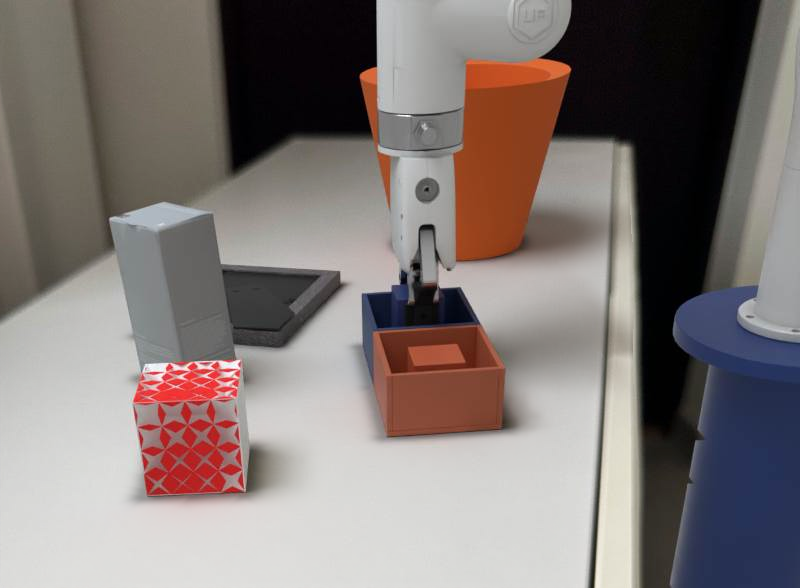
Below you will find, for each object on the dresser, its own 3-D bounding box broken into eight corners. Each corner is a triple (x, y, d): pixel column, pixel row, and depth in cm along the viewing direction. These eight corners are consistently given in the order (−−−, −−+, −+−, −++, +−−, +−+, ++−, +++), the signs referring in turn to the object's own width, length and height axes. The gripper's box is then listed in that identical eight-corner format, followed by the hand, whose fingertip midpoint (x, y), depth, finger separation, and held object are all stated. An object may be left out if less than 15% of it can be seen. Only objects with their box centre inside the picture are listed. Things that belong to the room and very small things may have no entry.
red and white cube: (245, 491, 84) (236, 398, 79) (147, 496, 84) (132, 403, 79) (249, 447, 90) (241, 358, 86) (158, 452, 90) (145, 363, 86)
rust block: (455, 390, 97) (457, 343, 94) (464, 410, 93) (466, 361, 91) (407, 394, 97) (407, 346, 94) (413, 414, 93) (414, 365, 91)
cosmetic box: (240, 381, 102) (224, 210, 93) (180, 402, 99) (157, 227, 89) (190, 359, 108) (170, 195, 98) (131, 379, 104) (105, 211, 95)
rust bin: (478, 381, 100) (481, 324, 97) (501, 429, 91) (505, 368, 88) (373, 388, 100) (372, 331, 96) (386, 436, 91) (386, 376, 88)
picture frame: (279, 347, 109) (340, 284, 125) (277, 328, 108) (340, 267, 124) (140, 336, 114) (217, 276, 130) (138, 317, 113) (215, 260, 129)
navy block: (436, 327, 105) (437, 282, 102) (443, 343, 101) (444, 296, 98) (391, 330, 104) (391, 284, 102) (396, 346, 101) (397, 299, 98)
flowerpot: (585, 227, 140) (602, 59, 128) (507, 282, 123) (518, 94, 112) (419, 209, 151) (420, 53, 140) (326, 256, 135) (319, 84, 123)
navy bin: (458, 340, 109) (460, 286, 105) (478, 380, 100) (480, 323, 97) (362, 346, 108) (361, 293, 105) (373, 387, 100) (372, 330, 96)
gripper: (481, 148, 85) (471, 365, 96) (447, 111, 99) (442, 304, 110) (388, 153, 85) (389, 370, 96) (368, 115, 99) (370, 309, 109)
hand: (417, 333), depth 102 cm, fingers closed on navy block, 4 cm apart
